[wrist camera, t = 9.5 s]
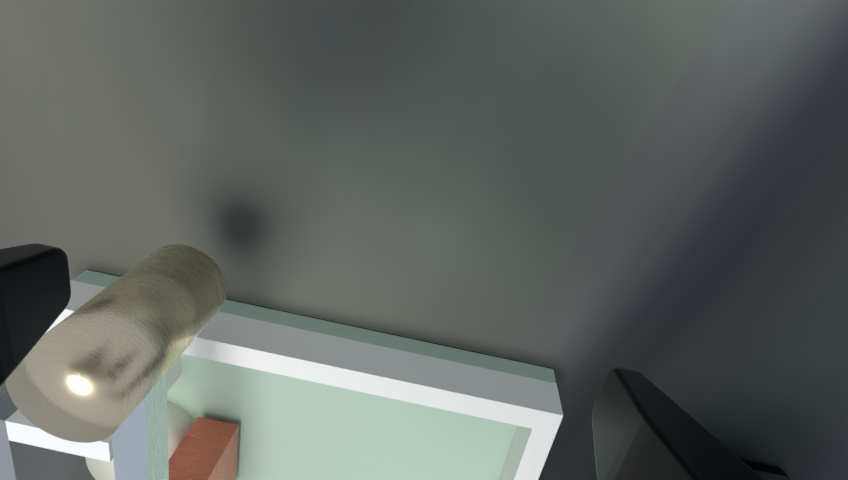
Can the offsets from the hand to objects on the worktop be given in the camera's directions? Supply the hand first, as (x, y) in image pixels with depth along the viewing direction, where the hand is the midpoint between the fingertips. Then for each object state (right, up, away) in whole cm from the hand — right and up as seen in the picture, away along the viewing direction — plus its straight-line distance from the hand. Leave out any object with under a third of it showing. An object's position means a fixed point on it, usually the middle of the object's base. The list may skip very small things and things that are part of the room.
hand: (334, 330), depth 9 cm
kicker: (-8, -7, +17) cm, 20 cm away
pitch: (-5, -9, +19) cm, 22 cm away
